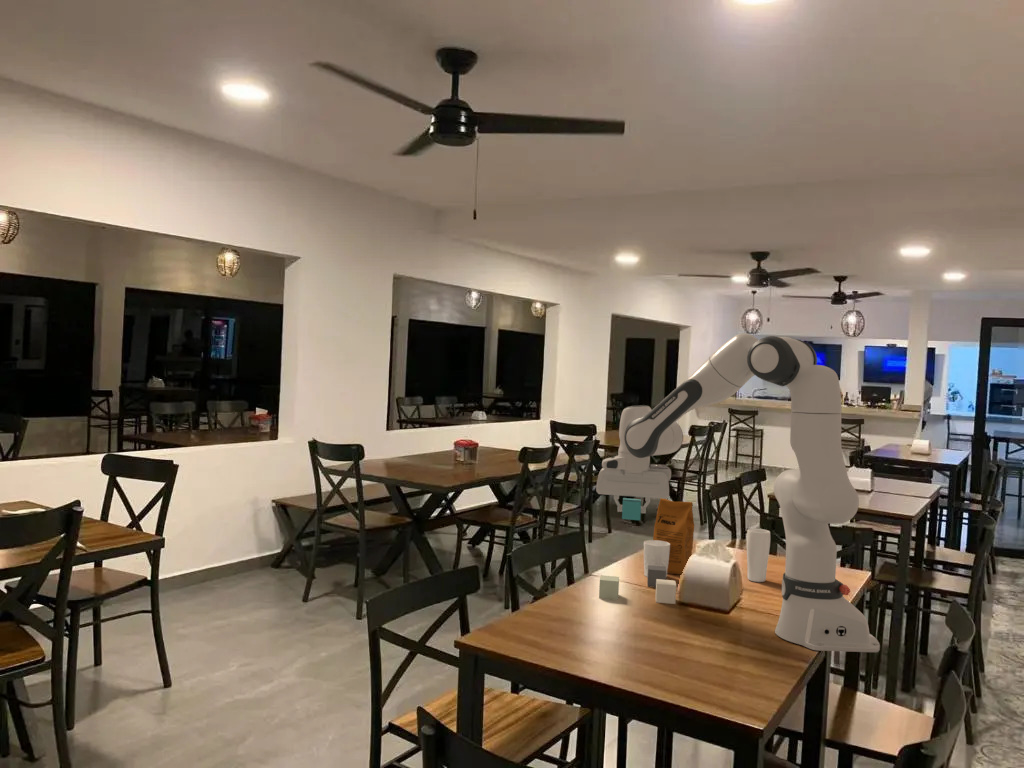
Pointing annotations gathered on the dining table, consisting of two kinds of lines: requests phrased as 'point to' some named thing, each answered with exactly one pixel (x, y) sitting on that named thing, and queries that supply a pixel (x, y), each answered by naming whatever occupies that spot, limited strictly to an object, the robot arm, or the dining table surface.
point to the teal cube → (631, 509)
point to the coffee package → (675, 532)
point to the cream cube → (665, 591)
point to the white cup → (656, 554)
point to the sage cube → (609, 587)
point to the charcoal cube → (655, 574)
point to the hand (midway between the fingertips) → (631, 512)
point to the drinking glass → (757, 554)
